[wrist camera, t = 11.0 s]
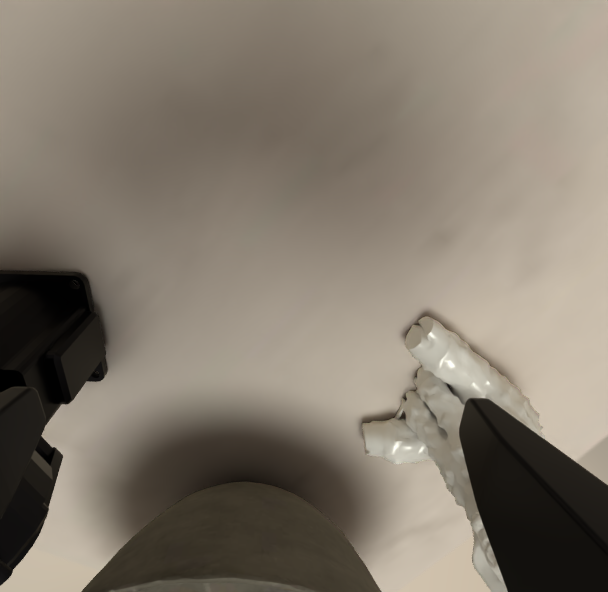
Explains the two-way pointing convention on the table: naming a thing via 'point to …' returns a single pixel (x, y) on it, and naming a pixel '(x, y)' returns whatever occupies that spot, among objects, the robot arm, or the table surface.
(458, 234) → the table surface
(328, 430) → the table surface
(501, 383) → the white creature statuette
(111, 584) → the bowl
